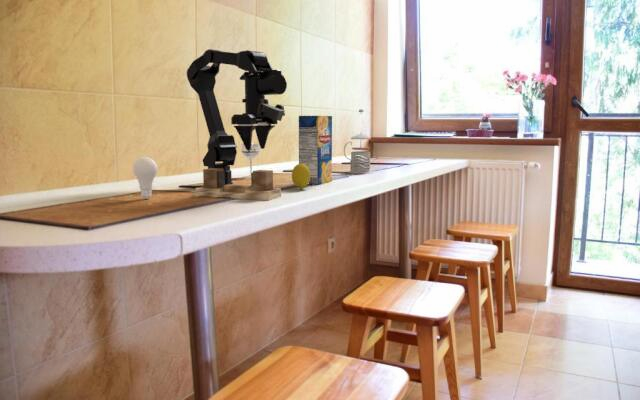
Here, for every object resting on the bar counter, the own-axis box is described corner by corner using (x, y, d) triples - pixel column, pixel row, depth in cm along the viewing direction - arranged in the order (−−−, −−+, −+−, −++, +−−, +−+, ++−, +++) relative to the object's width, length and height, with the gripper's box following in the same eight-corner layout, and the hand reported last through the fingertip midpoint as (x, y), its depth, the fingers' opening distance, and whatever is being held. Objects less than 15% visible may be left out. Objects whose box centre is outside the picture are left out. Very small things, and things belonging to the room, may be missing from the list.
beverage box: (298, 183, 179) (298, 115, 176) (313, 180, 189) (313, 116, 186) (317, 184, 176) (317, 115, 173) (331, 181, 186) (332, 116, 183)
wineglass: (263, 177, 198) (263, 144, 197) (246, 178, 195) (246, 144, 193) (255, 176, 204) (254, 143, 202) (238, 177, 200) (237, 144, 198)
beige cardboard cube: (273, 192, 147) (272, 170, 146) (266, 194, 144) (266, 171, 143) (257, 191, 149) (257, 169, 148) (250, 193, 145) (250, 171, 144)
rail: (194, 196, 149) (194, 169, 148) (210, 192, 156) (209, 167, 155) (268, 200, 141) (268, 172, 140) (281, 196, 149) (281, 169, 148)
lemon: (308, 190, 162) (308, 163, 161) (289, 190, 163) (289, 163, 162) (312, 188, 167) (312, 162, 166) (294, 187, 168) (294, 161, 167)
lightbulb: (136, 201, 139) (134, 158, 138) (132, 198, 145) (130, 156, 143) (160, 199, 142) (159, 157, 141) (156, 196, 148) (154, 156, 146)
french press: (373, 173, 215) (374, 108, 211) (344, 173, 215) (344, 108, 211) (371, 171, 224) (372, 109, 221) (343, 171, 225) (343, 109, 221)
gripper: (266, 93, 148) (266, 151, 150) (292, 96, 165) (293, 148, 168) (229, 94, 152) (230, 150, 154) (259, 97, 169) (260, 147, 171)
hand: (255, 149), depth 162 cm, fingers open, 9 cm apart
